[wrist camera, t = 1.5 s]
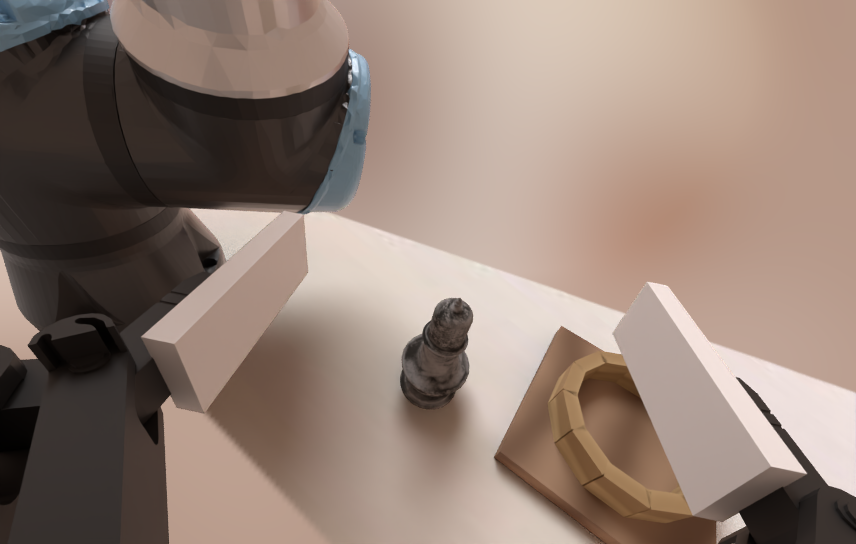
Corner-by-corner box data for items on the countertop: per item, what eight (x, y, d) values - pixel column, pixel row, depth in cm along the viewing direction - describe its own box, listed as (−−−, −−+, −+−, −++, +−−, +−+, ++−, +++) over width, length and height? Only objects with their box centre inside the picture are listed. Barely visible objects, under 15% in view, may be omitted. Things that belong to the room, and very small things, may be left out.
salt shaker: (467, 407, 30) (515, 331, 22) (402, 417, 29) (428, 339, 20) (449, 350, 34) (485, 266, 26) (392, 356, 32) (409, 269, 24)
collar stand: (494, 457, 28) (513, 438, 25) (555, 333, 38) (574, 309, 35) (698, 615, 23) (755, 616, 20) (705, 424, 33) (742, 405, 30)
